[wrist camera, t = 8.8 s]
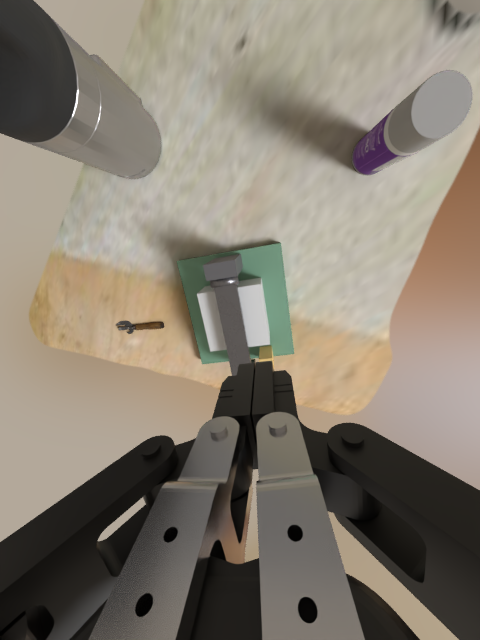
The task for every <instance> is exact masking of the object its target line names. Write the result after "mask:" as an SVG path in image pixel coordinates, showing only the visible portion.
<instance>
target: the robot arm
mask: <svg viewBox="0 0 480 640" xmlns="http://www.w3.org/2000/svg"><path fill="white" fill-rule="evenodd" d="M0 133H1V134H4V135H7V136H9V137H12V138H15V139H18V140H21V141H23V142H26V143H29V144H32V145H35V146H38V147H40V148H43V149H46V150H49V151H52V152H54V153H58V154H60V155H63V156H66V157H68V158H71V159H74V160H77V161H80V162H82V163H85V164H88V165H91V166H94V167H96V168H99V169H102V170H105V171H108V172H110V173H113V174H116V175H118V176H121V177H124V178H129V179H139V178H142V177H144V176H146V175H148V174H149V173H150V172H151V171H152V170H153V169H154V168H155V166H156V164H157V163H158V160H159V157H160V153H161V137H160V133H159V129H158V127H157V125H156V122H155V121H154V119H153V118H152V116H151V115H150V114H149V113H148V112H147V111H146V110H145V109H144V108H143V106H142V102H141V99H140V98H139V97H138V96H137V95H136V94H135V93H134V92H133V91H132V90H131V89H130V88H129V87H128V86H127V85H126V84H125V82H124V81H123V80H122V79H121V78H120V77H119V76H118V75H117V74H116V73H115V72H114V71H113V70H112V69H111V68H110V67H109V66H108V65H107V64H106V63H105V62H104V61H103V60H102V59H101V58H100V57H99V56H97V55H89V54H88V53H87V52H86V51H85V50H84V49H83V48H82V47H81V46H80V45H79V44H78V43H77V42H76V41H74V40H73V39H72V38H71V37H70V36H69V35H68V34H67V33H66V32H65V31H64V30H63V29H62V28H61V27H60V26H59V25H58V24H57V23H56V22H55V21H54V20H53V19H52V18H51V17H50V16H49V15H48V14H47V13H46V12H45V11H44V10H43V9H42V8H41V7H40V6H39V5H38V4H37V3H36V2H34V1H33V0H0ZM253 469H258V472H259V481H257V484H256V490H257V491H256V492H257V517H258V541H259V558H258V559H255V560H252V561H249V562H246V563H245V547H246V540H247V532H248V524H249V516H250V508H251V501H252V493H253V488H252V472H253ZM142 497H143V498H144V500H145V503H146V505H145V506H144V507H143V508H141V509H140V510H139V511H138V512H137V513H136V514H134V515H133V516H132V517H131V518H130V519H129V520H128V521H126V522H125V523H124V524H123V525H122V526H121V527H120V528H118V529H117V530H116V531H115V532H114V533H113V534H112V535H111V536H109V537H108V538H107V539H105V540H103V541H99V542H98V541H97V540H98V538H99V536H100V534H101V533H102V532H103V531H104V530H105V529H106V528H107V527H108V526H109V525H110V524H111V523H113V522H114V521H115V520H116V519H117V518H118V517H120V516H121V515H122V514H123V513H124V512H126V511H127V510H128V509H129V508H130V507H131V506H133V505H134V504H135V503H136V502H137V501H138V500H140V498H142ZM328 511H329V512H333V513H334V514H335V516H336V518H337V520H338V521H339V522H340V524H341V525H342V526H343V527H345V529H346V530H347V531H348V532H349V533H350V534H352V535H353V536H354V537H355V538H356V539H357V540H358V541H359V542H360V543H361V544H362V545H363V546H364V547H365V548H366V549H367V550H368V551H369V552H370V553H371V554H372V555H373V556H374V557H375V558H376V559H377V560H378V561H379V562H380V563H382V564H383V566H385V568H386V569H387V570H388V571H389V572H391V574H392V575H394V576H395V577H396V578H397V579H398V580H399V581H400V582H401V583H402V584H403V585H404V586H405V587H406V588H407V589H408V590H409V591H410V592H411V593H412V594H413V595H414V596H415V597H416V598H417V599H418V600H419V601H420V602H421V603H422V604H423V605H424V606H425V607H427V609H428V610H429V611H430V612H432V613H433V615H434V616H436V617H437V618H438V619H439V620H440V621H441V622H442V623H443V624H444V625H445V626H446V627H447V628H448V629H449V630H450V631H451V632H452V633H453V634H454V635H455V636H456V637H457V638H458V639H459V640H480V490H478V489H476V488H474V487H473V486H471V485H469V484H467V483H465V482H464V481H462V480H460V479H458V478H456V477H455V476H453V475H451V474H449V473H447V472H446V471H444V470H442V469H440V468H438V467H437V466H435V465H433V464H431V463H429V462H428V461H426V460H424V459H422V458H421V457H419V456H417V455H415V454H413V453H412V452H410V451H408V450H406V449H404V448H403V447H401V446H399V445H397V444H396V443H394V442H392V441H390V440H388V439H387V438H385V437H383V436H381V435H379V434H378V433H376V432H374V431H372V430H371V429H369V428H367V427H365V426H362V425H360V424H355V423H342V424H338V425H335V426H334V427H332V428H331V429H330V430H329V431H328V433H322V432H317V431H314V430H311V429H309V428H307V427H306V426H304V425H303V424H302V423H301V422H300V421H299V419H298V415H297V410H296V403H295V397H294V391H293V385H292V379H291V376H290V375H289V374H288V373H287V372H286V371H285V370H283V371H274V368H273V362H272V361H263V362H256V364H255V363H246V364H239V366H238V371H237V375H236V376H228V377H227V379H226V380H225V381H224V382H223V383H222V386H221V389H220V393H219V396H218V400H217V403H216V407H215V410H214V414H213V417H212V419H211V420H209V421H208V422H206V423H205V424H204V425H203V426H202V427H201V429H200V430H199V432H198V435H197V437H196V438H195V439H193V440H191V441H188V442H185V443H182V444H179V445H174V442H173V440H172V439H171V438H170V437H168V436H155V437H152V438H150V439H147V440H146V441H144V442H142V443H141V444H140V445H138V446H137V447H135V448H134V449H133V450H131V451H130V452H128V453H127V454H125V455H124V456H122V457H121V458H120V459H119V460H117V461H115V462H114V463H112V464H111V465H110V466H108V467H107V468H105V469H104V470H103V471H101V472H100V473H98V474H97V475H95V476H94V477H93V478H91V479H90V480H88V481H87V482H85V483H84V484H83V485H81V486H80V487H78V488H77V489H75V490H74V491H73V492H71V493H70V494H68V495H67V496H65V497H64V498H63V499H61V500H60V501H58V502H57V503H56V504H54V505H53V506H51V507H50V508H49V509H47V510H46V511H44V512H43V513H41V514H40V515H38V516H37V517H36V518H34V519H33V520H31V521H30V522H29V523H27V524H26V525H24V526H23V527H21V528H20V529H19V530H17V531H16V532H14V533H13V534H12V535H10V536H9V537H7V538H6V539H4V540H3V541H1V542H0V640H420V639H419V638H418V637H417V636H416V635H415V634H414V632H413V631H412V630H411V629H410V628H409V627H408V626H407V624H406V623H405V622H404V621H403V620H402V619H401V618H400V616H399V615H398V614H397V613H396V612H395V611H394V610H393V609H392V608H391V607H390V606H389V605H388V604H387V603H386V602H385V601H384V600H383V599H382V598H381V597H380V596H379V595H378V594H377V593H375V592H374V591H373V590H371V589H370V588H369V587H368V586H366V585H365V584H364V583H362V582H360V581H359V580H357V579H356V578H354V577H352V576H350V575H348V574H346V573H345V570H344V566H343V563H342V560H341V556H340V553H339V549H338V546H337V542H336V539H335V535H334V532H333V529H332V525H331V522H330V518H329V515H328Z"/></svg>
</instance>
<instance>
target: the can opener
mask: <svg viewBox="0 0 480 640" xmlns="http://www.w3.org/2000/svg"><path fill="white" fill-rule="evenodd" d="M116 325H125V326H126V327H118V328H119V330H127V329H129V330H130V332H127V333H128V334H131V333H132V332H133V330H143V329H161V328H164V323H163V322H155V323H148V324H136V325H132V324H131V323H130V322H129V321H120V322H119V323H117V324H116Z"/></svg>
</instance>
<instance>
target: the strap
mask: <svg viewBox="0 0 480 640" xmlns="http://www.w3.org/2000/svg"><path fill="white" fill-rule="evenodd" d="M238 284H239V277H238V276H236V277H229V278H223V279H217V280H211V281H210V286H211V288H212V289H213V288H214V291H215V296H216V301H217V305H218V310H219V315H220V320H221V324H222V329H223V334H224V339H225V343H226V348H227V353H228V358H229V362H230V367H231V372H232V376H236V375H237V371H238V366H239V364H246V363H255V364H256V362H255V359H252V360H251V358H250V352H249V347H248V341H247V336H246V330H245V324H244V319H243V313H242V308H241V302H240V297H239V291H238V286H237V285H238Z"/></svg>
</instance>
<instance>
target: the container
mask: <svg viewBox="0 0 480 640" xmlns="http://www.w3.org/2000/svg"><path fill="white" fill-rule="evenodd" d="M471 103H472V88H471V84H470V82H469V80H468V79H467V78H466V77H465V76H464V75H463V74H462V73H460V72H457V71H453V70H446V71H442V72H439V73H436V74H435V75H433V76H431V77H430V78H429V79H427V80H426V81H425V82H424V83H423V84H422V85H420V86H419V87H418V88H417V89H416V90H415V91H413V92H412V93H411V94H410V95H409V96H408V97H407V98H405V99H404V100H403V101H402V102H401V103H400V104H398V105H397V106H396V107H395V108H394V109H393V110H392V111H391V112H390V113H389V114H388V115H386V116H385V117H384V118H383V119H382V120H381V121H380V122H379V123H378V124H377V125H376V126H375V127H374V128H373V129H372V130H371V131H370V132H368V133H367V134H366V135H365V136H364V137H363V138H362V139H361V140H360V141H359V142H358V143H357V145H356V146H355V148H354V150H353V154H352V164H353V167H354V168H355V170H356V171H357V172H358V173H360V174H362V175H372V174H375V173H377V172H379V171H381V170H383V169H385V168H387V167H389V166H391V165H393V164H395V163H397V162H399V161H401V160H403V159H405V158H407V157H409V156H411V155H413V154H415V153H417V152H418V151H420V150H422V149H424V148H425V147H427V146H429V145H431V144H433V143H434V142H436V141H438V140H440V139H442V138H443V137H445V136H447V135H449V134H450V133H452V132H453V131H455V130H456V129H457V128H458V127H459V126H460V125H461V124H462V122H463V121H464V120H465V118H466V116H467V115H468V112H469V110H470V107H471Z"/></svg>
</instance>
